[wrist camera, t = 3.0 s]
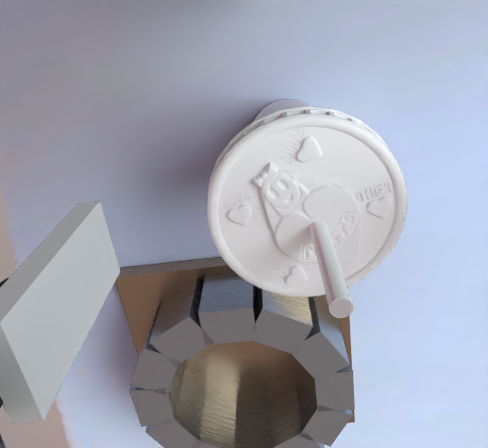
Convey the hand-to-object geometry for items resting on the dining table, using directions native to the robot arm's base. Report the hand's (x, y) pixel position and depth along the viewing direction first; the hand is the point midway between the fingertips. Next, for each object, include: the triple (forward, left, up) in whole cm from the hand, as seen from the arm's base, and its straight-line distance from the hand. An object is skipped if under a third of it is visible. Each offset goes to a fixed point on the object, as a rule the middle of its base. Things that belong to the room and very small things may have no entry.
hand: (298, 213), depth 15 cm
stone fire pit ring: (+13, -4, -9) cm, 16 cm away
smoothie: (0, 0, -9) cm, 9 cm away
